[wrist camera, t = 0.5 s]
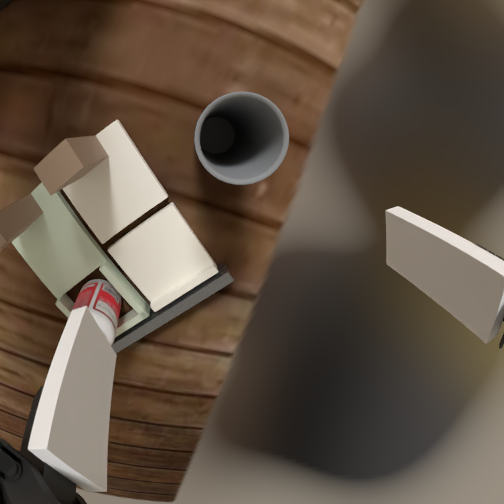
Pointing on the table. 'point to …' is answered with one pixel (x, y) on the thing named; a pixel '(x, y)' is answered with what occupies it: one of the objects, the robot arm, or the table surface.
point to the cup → (241, 138)
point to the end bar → (174, 308)
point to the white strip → (163, 257)
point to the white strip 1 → (102, 179)
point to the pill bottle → (101, 305)
